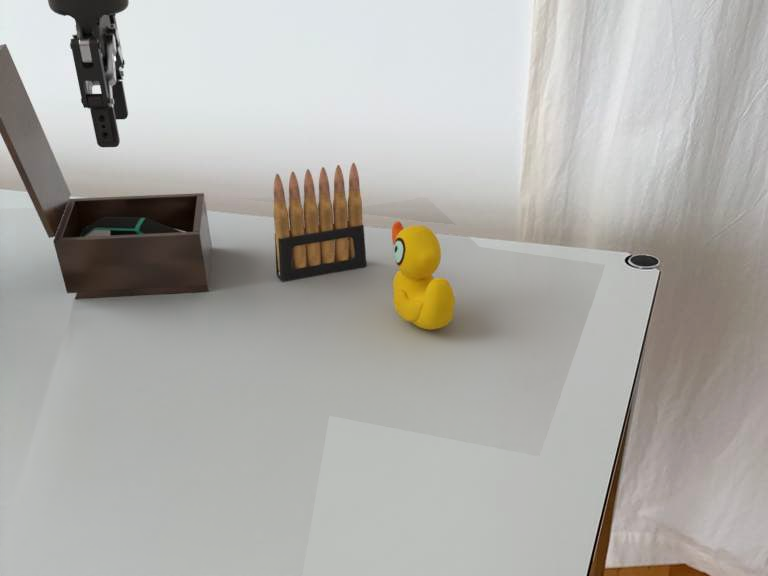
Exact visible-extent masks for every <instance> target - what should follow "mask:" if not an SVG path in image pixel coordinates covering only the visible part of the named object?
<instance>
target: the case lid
mask: <svg viewBox="0 0 768 576" xmlns="http://www.w3.org/2000/svg"><path fill="white" fill-rule="evenodd" d="M25 87H26V86H25V85H24V82H23V80H22V77H21V75H20V73H19V71H18V69H17V66H16V64H15V61H14V59H13V57H12V54H11V53H10V50H9V48H8V46H7V44H6V43H4V44H0V136H1V138H2V141H3V143H4V145H5V147H6V149H7V151H8V154H9V155H10V158H11V159H12V162H13V164H14V166H15V169H16V170H17V172H18V175H19V177H20V179H21V181H22V183H23V185H24V187H25V190H26V192H27V194H28V196H29V198H30V200H31V203H32V205H33V207H34V209H35V211H36V213H37V215H38V217H39V220H40V222H41V224H42V226H43V229H44V230H45V233H46V235H47V237H48V238H49V239H51V238H55V236H56V233H57V230H58V228H59V225H60V222H61V220H62V217H63V214H64V212H65V209H66V206H67V204H68V201H69V199H71V195H72V193H71V191H70V189H69V186H68V185H67V184H68V183H67V182H66V180H65V177H64V175H63V171H62V170H61V168H60V165H59V163H58V161H57V158H56V157H55V154H54V152H53V149H52V147H51V145H50V142H49V140H48V137H47V136H46V133H45V131H44V129H43V125H42V124H41V122H40V119H39V117H38V115H37V113H36V110H35V108H34V105H33V103H32V101H31V99H30V96H29V94H28V91H27V89H26V88H25Z"/></svg>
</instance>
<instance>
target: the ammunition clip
mask: <svg viewBox="0 0 768 576" xmlns="http://www.w3.org/2000/svg"><path fill="white" fill-rule="evenodd" d="M349 170H350V171H349V176H348V198H346V189H345V188H346V187H345V178H344V173H343V170H342V168H341V166H340V165H339V164H337V165H336V167H335V171H334V176H333V177H334V179H333V201H332V200H331V192H330V191H331V190H330V181H329V177H328V174H327V170H326V168H325V167H324V166H321V169H320V171H319V178H318V204H317V199H316V198H317V197H316V191H315V190H316V189H315V184H314V179H313V177H312V172H311V171H310V169H306V171H305V174H304V180H303V207H302V200H301V192H300V186H299V182H298V178H297V175H296V173H295V171H291V173H290V176H289V180H288V208H287V202H286V197H285V189H284V185H283V181H282V178H281V176H280V174H279V173H276V174H275V177H274V181H273V223H274V247H275V266H276V267H275V269H276V271H275V272H276V276H277V277H278V279H279V280H280V281H281V282H287V281H293V280H299V279H304V278H305V279H306V278H309V277H315V276H322V275H326V274H333V273H338V272H339V273H340V272H345V271H349V270H355V269H360V268H366V267H367V265H368V264H367V253H366V242H365V241H366V240H365V227H364V224H363V223H364V222H363V202H362V196H361V188H360V175H359V172H358V168H357V164H355V162H352V163H351V166H350V169H349Z"/></svg>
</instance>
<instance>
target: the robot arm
mask: <svg viewBox="0 0 768 576" xmlns="http://www.w3.org/2000/svg"><path fill="white" fill-rule="evenodd" d="M47 3H48V7H49V9H50V10H51V11H52V12H54V13H55V14H57V15H60V16H63V17H66V16H69V17H71V18H72V19H74V22H75V34H72V35H71V36H72V37H71V38H70V42H69V48H70V50H71V53H72V58H73V62H74V66H75V72H76V77H77V82H78V83H77V84H78V88H79V93H80V97H81V98H80V102H81V104H82V106H83V108H84V109H88V110H89V111H90V116H91V121H92V125H93V130H94V134H95V135H94V136H95V140H96V144H97V145H98V147H101V148H116V147H118V146H119V145H120V142H121V139H120V133H119V129H118V122H117V120H126V119H127V118H128V116H129V110H128V105H127V100H126V99H127V98H126V93H125V87H124V82H123V81H124V77H125V72H124V70H123V69H125V65H126V62H125V59H124V56H123V52H122V51H123V50H122V46H121V39H120V35H119V34H120V33H119V30H118V29H119V28H118V24H117V19H116V15H117V14H119V13H122V12H123V11H125V10H126V9H127V8H128V6H129V0H47ZM94 86H99V87H100V93H93V87H94Z"/></svg>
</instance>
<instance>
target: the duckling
mask: <svg viewBox="0 0 768 576" xmlns="http://www.w3.org/2000/svg"><path fill="white" fill-rule="evenodd" d="M391 240H392V245H393V255H394V260H395V264H396V265H397V268H398V269H399V270H397V272H396V273H395V275H394V279H393V282H392V291H393V306H394V308H395V311H396V313H397V314H398V315H399V316H400V317H401V318H402V319H403V320H404V321H405V322H411V323H412V324H414V325H415V326H416V327H418V328H420V329H423V330H438V329H440V328H443V327H445V326H447V325H448V324H450V323H451V321H452V319H453V317H454V311H455V310H454V309H455V302H456V297H455V295H454V294H455V293H454V290H453V288H452V286H451V284H450V282H449V280H447V279H446V278H444V277H436V278H434V276H433V274H434V273H435V272H436V271H437V269H438V268H439V266H440V263H441V258H442V250H441V246H440V242H439V240H438V238H437V236H436V234H435V232H433V231H432V230H431V229H430V228H428V227H427V226H424V225H410V226H406V227H404V226H403V224H402V223H401V221H395V222H393V225H392V228H391Z"/></svg>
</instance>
